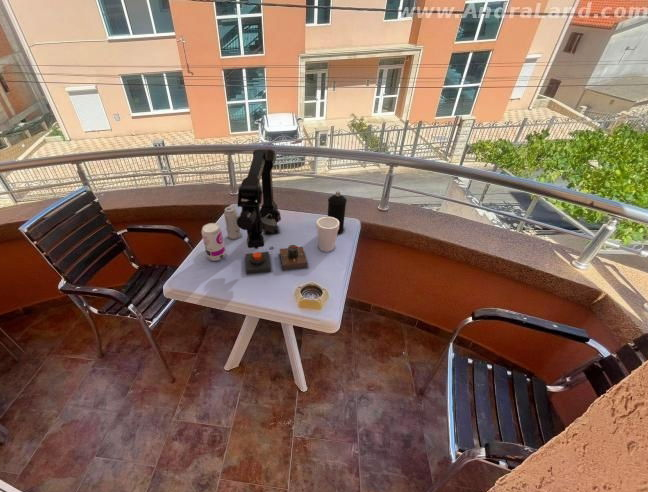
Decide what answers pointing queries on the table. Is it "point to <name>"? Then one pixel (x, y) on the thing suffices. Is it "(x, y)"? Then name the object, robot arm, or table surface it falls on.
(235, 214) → the energy drink can
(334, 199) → the aerosol can
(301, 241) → the table surface
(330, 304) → the table surface
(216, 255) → the supplement can
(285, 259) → the dial panel
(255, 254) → the power button
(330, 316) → the table surface
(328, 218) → the foam cup
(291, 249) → the dial
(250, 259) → the push button box
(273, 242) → the table surface
